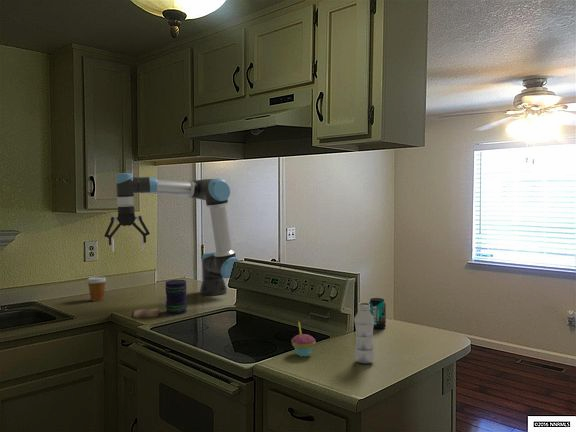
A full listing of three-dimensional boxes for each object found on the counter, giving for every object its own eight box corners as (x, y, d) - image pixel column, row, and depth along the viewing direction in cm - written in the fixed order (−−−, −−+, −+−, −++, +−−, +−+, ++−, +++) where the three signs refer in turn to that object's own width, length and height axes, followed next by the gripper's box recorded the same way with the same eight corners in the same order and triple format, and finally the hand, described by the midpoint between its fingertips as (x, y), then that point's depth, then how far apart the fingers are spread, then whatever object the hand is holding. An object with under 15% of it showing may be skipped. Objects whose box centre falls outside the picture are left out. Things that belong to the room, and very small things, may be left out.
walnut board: (158, 310, 242) (158, 308, 242) (157, 316, 233) (157, 313, 233) (135, 312, 240) (135, 309, 240) (133, 317, 230) (133, 315, 230)
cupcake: (287, 355, 176) (286, 322, 176) (299, 348, 183) (299, 316, 183) (307, 360, 171) (307, 325, 171) (320, 353, 179) (319, 320, 178)
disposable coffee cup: (107, 301, 265) (106, 278, 264) (87, 302, 262) (87, 280, 261) (106, 297, 274) (105, 275, 273) (87, 299, 270) (87, 277, 270)
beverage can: (389, 328, 209) (389, 299, 208) (377, 330, 205) (376, 302, 204) (377, 324, 215) (377, 296, 214) (365, 327, 211) (365, 298, 210)
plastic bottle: (372, 366, 164) (372, 307, 163) (352, 364, 167) (352, 305, 165) (376, 360, 170) (376, 302, 169) (357, 358, 173) (356, 301, 171)
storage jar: (191, 311, 241) (190, 280, 240) (176, 316, 233) (175, 284, 232) (177, 308, 246) (176, 279, 245) (161, 313, 238) (160, 282, 237)
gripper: (153, 204, 240) (155, 248, 242) (98, 206, 234) (101, 251, 236) (153, 205, 233) (155, 250, 234) (96, 207, 227) (99, 253, 228)
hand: (128, 251), depth 235 cm, fingers open, 13 cm apart
